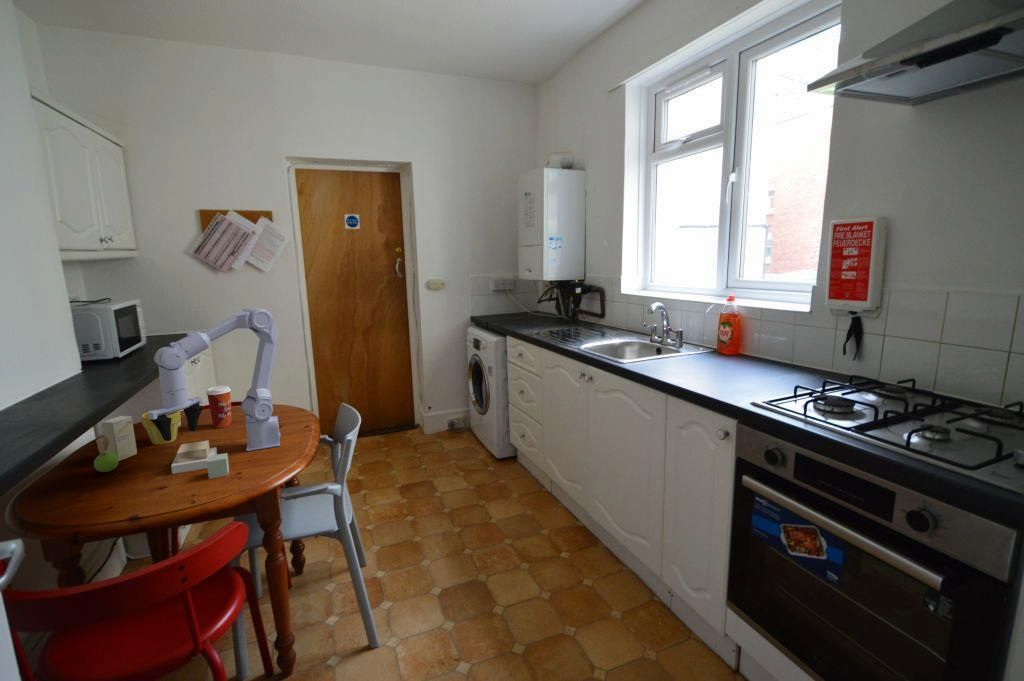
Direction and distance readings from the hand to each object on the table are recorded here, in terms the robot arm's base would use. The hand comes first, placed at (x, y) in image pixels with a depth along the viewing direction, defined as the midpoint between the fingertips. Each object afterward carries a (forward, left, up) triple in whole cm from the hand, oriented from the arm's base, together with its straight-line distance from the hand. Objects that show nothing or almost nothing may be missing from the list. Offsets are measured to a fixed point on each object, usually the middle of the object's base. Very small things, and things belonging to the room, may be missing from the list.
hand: (180, 435), depth 139 cm
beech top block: (-2, -1, -7) cm, 8 cm away
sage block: (-9, +10, -10) cm, 17 cm away
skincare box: (+19, -17, -10) cm, 27 cm away
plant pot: (+10, -27, -10) cm, 31 cm away
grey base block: (-2, -1, -10) cm, 11 cm away
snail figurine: (+20, -6, -10) cm, 23 cm away
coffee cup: (+9, -42, -11) cm, 45 cm away
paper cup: (-6, -35, -10) cm, 37 cm away
